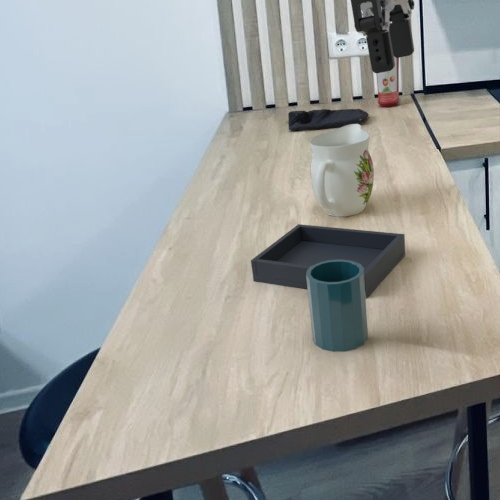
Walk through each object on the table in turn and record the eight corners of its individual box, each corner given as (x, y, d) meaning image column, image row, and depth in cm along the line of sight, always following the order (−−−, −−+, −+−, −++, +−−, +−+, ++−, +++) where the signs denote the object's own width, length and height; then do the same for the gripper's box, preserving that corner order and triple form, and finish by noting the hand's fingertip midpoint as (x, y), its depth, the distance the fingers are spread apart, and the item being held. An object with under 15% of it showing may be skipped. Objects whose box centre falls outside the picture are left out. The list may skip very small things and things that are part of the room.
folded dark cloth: (364, 128, 174) (362, 110, 172) (284, 132, 181) (282, 115, 179) (371, 115, 188) (370, 98, 186) (296, 120, 195) (295, 104, 193)
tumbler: (377, 341, 76) (372, 263, 72) (355, 369, 71) (349, 287, 67) (328, 332, 79) (321, 256, 75) (305, 358, 74) (296, 279, 71)
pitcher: (293, 228, 113) (285, 150, 107) (333, 194, 127) (327, 124, 122) (354, 233, 107) (348, 151, 102) (388, 196, 122) (384, 123, 116)
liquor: (403, 102, 199) (400, 4, 188) (398, 107, 193) (394, 6, 182) (379, 103, 202) (375, 7, 191) (373, 108, 196) (368, 9, 185)
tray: (405, 254, 97) (404, 234, 96) (366, 298, 86) (365, 275, 85) (300, 242, 106) (298, 224, 105) (253, 281, 95) (250, 260, 94)
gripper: (385, -120, 56) (415, 70, 62) (421, -116, 67) (443, 44, 73) (305, -93, 60) (340, 84, 65) (352, -94, 71) (378, 57, 77)
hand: (394, 63), depth 69 cm, fingers open, 8 cm apart
